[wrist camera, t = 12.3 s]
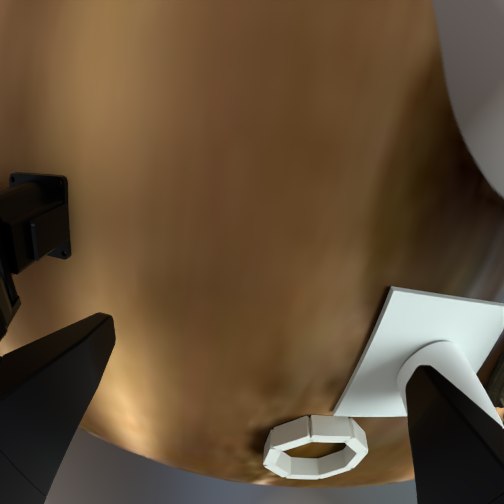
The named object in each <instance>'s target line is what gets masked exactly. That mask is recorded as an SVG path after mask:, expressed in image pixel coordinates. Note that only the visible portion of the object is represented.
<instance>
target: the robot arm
mask: <svg viewBox="0 0 504 504" xmlns="http://www.w3.org/2000/svg"><path fill="white" fill-rule="evenodd" d="M14 178H15V179H14ZM9 180H10V188H7V189H5V190H2V191H0V341H1V340H2V338H3V337H4V336H5V335H6V333H7V328H8V326H9V325H10V323H11V321H12V319H13V317H14V316H15V314H16V312H17V310H18V309H19V307H20V305H21V301H20V298H19V296H18V295H17V292H16V289H15V285H14V282H13V279H12V275H14V274H19V273H20V272H22V271H23V270H24V269H26V268H27V267H28V266H30V265H31V264H32V263H34V262H35V261H39V260H40V259H42V258H43V257H44V256H46V255H48V256H52V257H56V258H60V259H68V258H69V257H70V256H71V244H70V231H69V214H68V182H67V179H66V177H65V176H63V175H50V174H35V173H18V172H16V173H12V174H11V175H10V179H9ZM60 180H61V182H62V185H61V184H60ZM64 251H65V252H66V254H65V252H64ZM115 341H116V336H115V329H114V321H113V317H112V316H111V315H108V314H105V313H101V312H99V313H96V314H94V315H91V316H89V317H87V318H85V319H82V320H80V321H78V322H76V323H74V324H71V325H69V326H67V327H65V328H62V329H60V330H58V331H56V332H54V333H51V334H49V335H47V336H45V337H42V338H40V339H38V340H36V341H34V342H31V343H29V344H27V345H25V346H22V347H20V348H18V349H16V350H14V351H11V352H9V353H7V354H5V355H3V357H2V356H0V504H44V502H45V500H46V496H47V494H48V492H49V490H50V487H51V485H52V483H53V480H54V478H55V476H56V473H57V471H58V469H59V466H60V464H61V462H62V460H63V457H64V455H65V453H66V451H67V449H68V447H69V445H70V442H71V440H72V438H73V436H74V434H75V432H76V430H77V428H78V426H79V424H80V422H81V420H82V418H83V416H84V414H85V412H86V410H87V408H88V406H89V404H90V402H91V400H92V398H93V396H94V394H95V392H96V390H97V388H98V386H99V383H100V381H101V378H102V376H103V373H104V370H105V368H106V365H107V363H108V360H109V358H110V355H111V353H112V350H113V348H114V345H115ZM405 393H406V404H407V417H408V430H409V438H410V444H411V451H412V458H413V465H414V473H415V482H416V492H417V503H418V504H504V429H503V427H502V426H501V425H500V424H499V423H498V422H496V421H495V420H494V419H493V418H492V417H491V416H490V415H488V414H487V413H486V412H485V411H484V410H483V409H482V408H480V407H479V406H478V405H477V404H476V403H475V402H473V401H472V400H471V399H470V398H469V397H468V396H466V395H465V394H464V393H463V392H462V391H461V390H459V389H458V388H457V387H456V386H455V385H454V384H452V383H451V382H450V381H449V380H448V379H447V378H445V377H444V376H443V375H442V374H441V373H439V372H438V371H437V370H436V369H435V368H433V367H432V366H431V365H419V366H418V367H417V368H416V369H415V371H414V372H413V374H412V376H411V377H410V379H409V380H408V382H407V384H406V388H405Z"/></svg>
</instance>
